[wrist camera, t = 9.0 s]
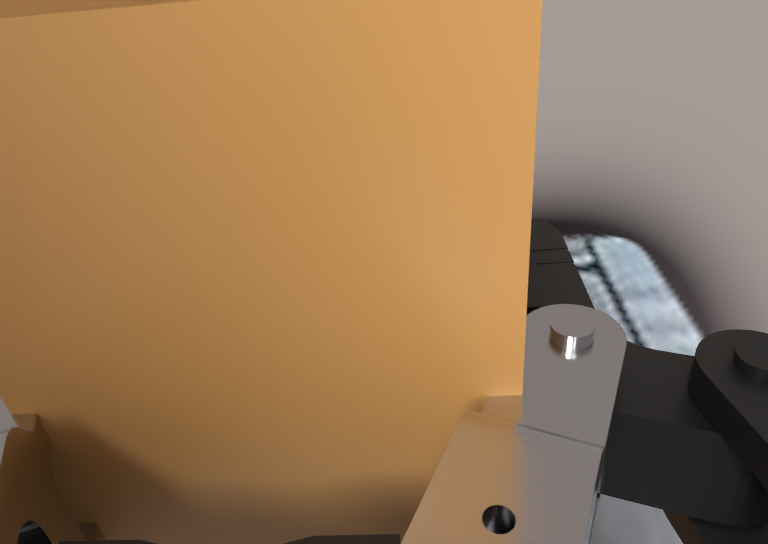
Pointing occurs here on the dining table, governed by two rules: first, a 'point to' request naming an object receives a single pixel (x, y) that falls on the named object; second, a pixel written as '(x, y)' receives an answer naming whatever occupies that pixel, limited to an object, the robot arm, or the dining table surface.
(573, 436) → the robot arm
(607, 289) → the dining table surface
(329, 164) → the orange tall block
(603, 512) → the dining table surface
